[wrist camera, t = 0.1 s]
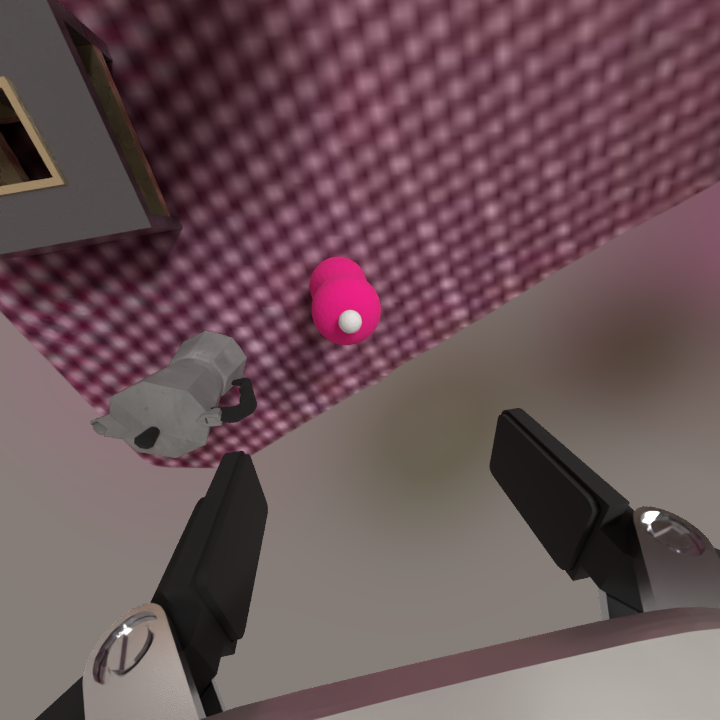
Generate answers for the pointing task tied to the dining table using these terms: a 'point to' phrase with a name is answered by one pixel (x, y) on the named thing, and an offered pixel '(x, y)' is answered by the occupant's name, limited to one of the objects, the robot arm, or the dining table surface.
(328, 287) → the pepper mill
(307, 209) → the dining table surface
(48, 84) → the grey square socket block
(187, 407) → the coffeepot
